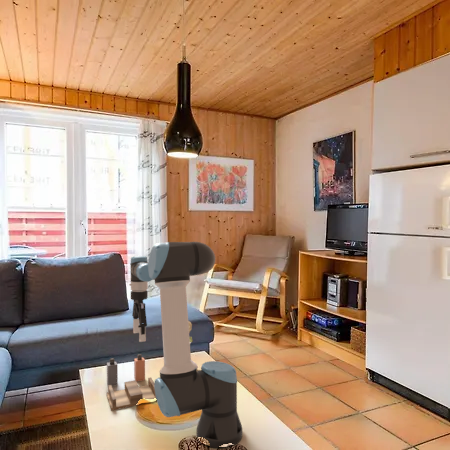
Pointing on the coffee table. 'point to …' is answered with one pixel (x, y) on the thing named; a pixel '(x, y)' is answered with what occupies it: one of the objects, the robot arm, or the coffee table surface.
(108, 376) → the charcoal plug
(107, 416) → the coffee table surface
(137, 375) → the terracotta plug
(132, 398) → the wooden ridged block
